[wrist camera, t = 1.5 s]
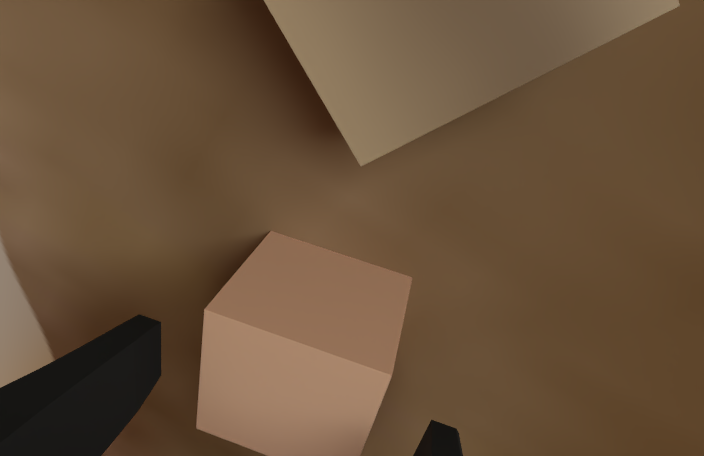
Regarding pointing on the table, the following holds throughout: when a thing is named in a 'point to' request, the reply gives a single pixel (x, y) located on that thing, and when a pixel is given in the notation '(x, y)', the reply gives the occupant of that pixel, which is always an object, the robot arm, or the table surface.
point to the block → (300, 350)
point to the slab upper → (438, 55)
